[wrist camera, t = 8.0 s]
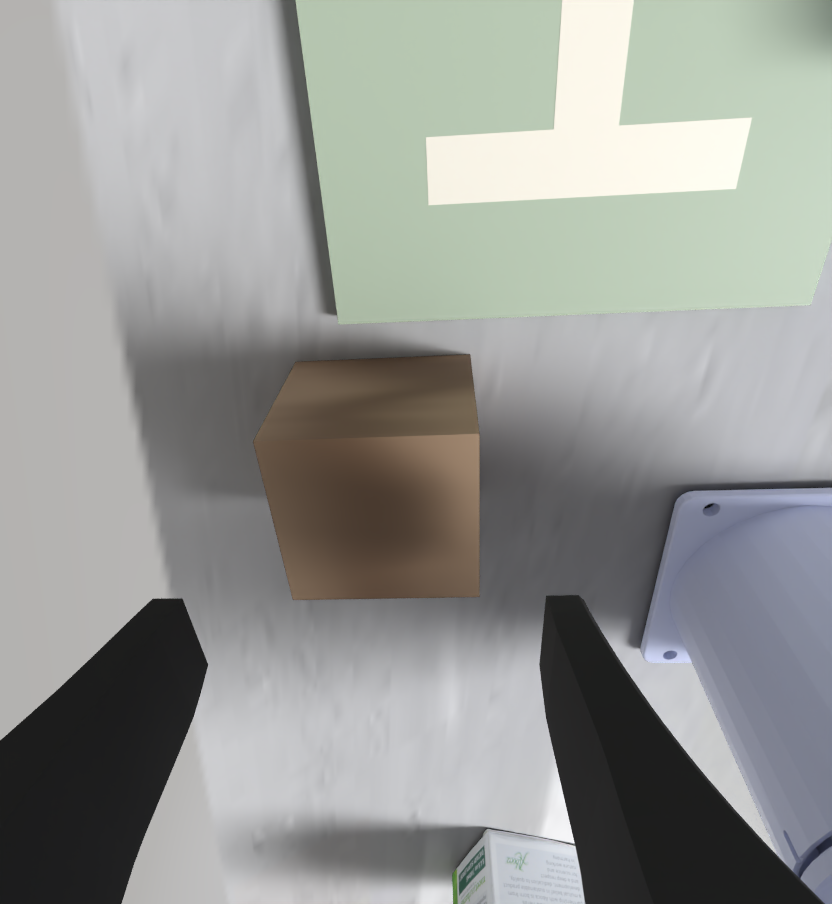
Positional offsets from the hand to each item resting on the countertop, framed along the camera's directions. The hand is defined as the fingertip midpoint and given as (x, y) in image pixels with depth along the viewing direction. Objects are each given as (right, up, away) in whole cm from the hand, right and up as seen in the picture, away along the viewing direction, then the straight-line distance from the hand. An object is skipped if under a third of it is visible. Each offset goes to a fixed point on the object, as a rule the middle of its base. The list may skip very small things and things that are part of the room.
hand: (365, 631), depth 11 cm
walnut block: (0, +4, +6) cm, 8 cm away
